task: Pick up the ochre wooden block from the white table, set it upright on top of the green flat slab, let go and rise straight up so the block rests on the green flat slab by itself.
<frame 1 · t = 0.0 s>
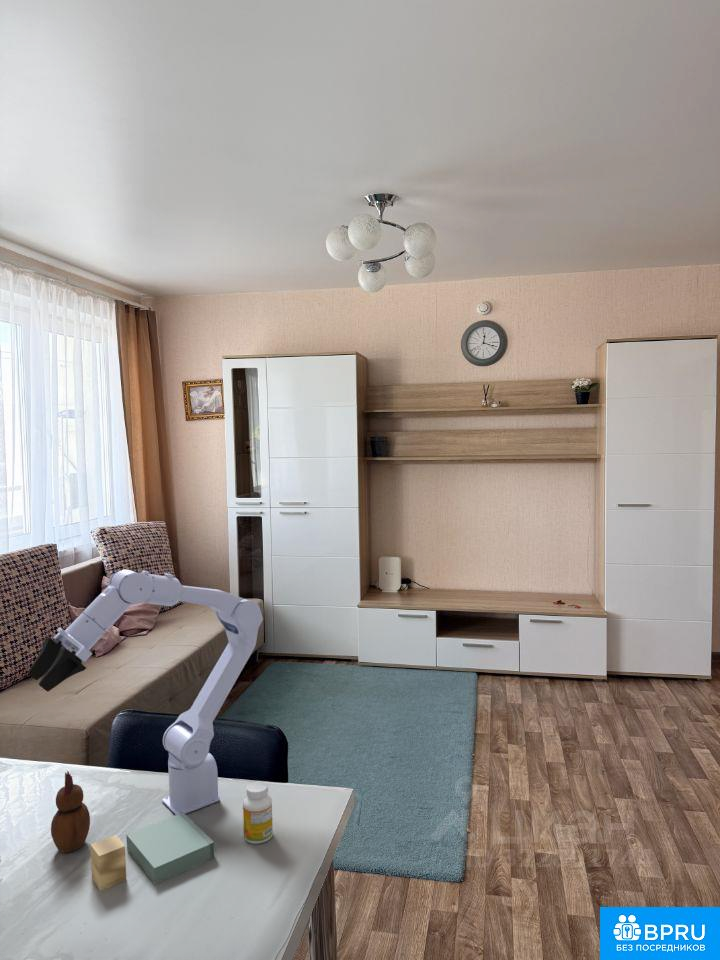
hand: (37, 682, 121), 32 cm above the table, tool tilted 50°, fingers open, 7 cm apart
supplement bottle: (258, 837, 129), on the table
green flat slab: (169, 854, 124), on the table
block: (109, 878, 117), on the table
wooden figurine: (72, 847, 126), on the table
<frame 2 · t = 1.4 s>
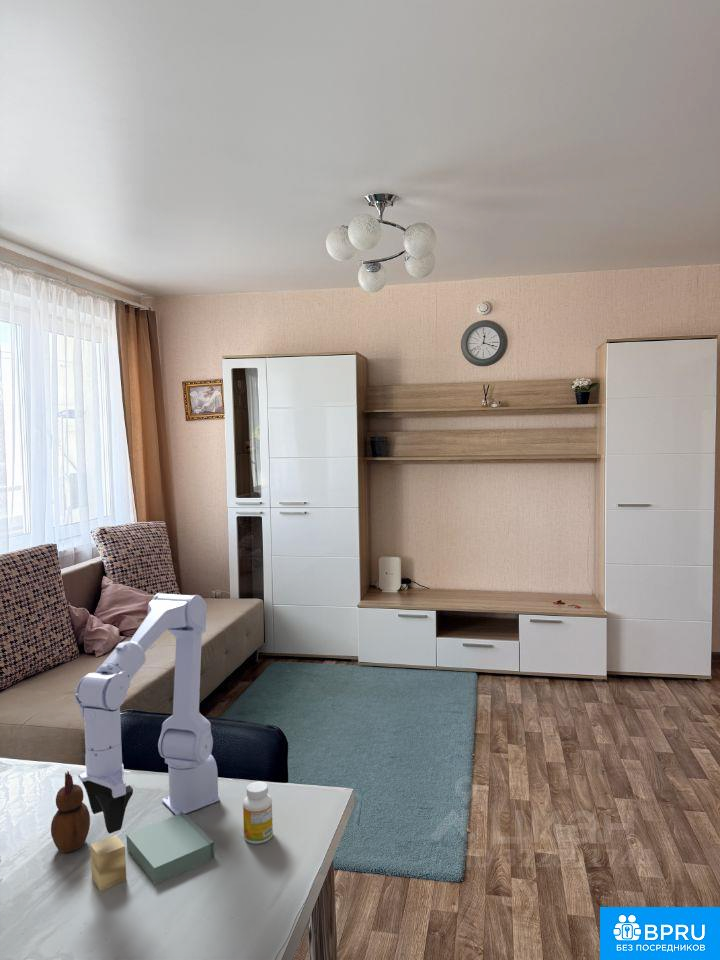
hand: (106, 820, 116), 10 cm above the table, tool pointing down, fingers open, 7 cm apart
nothing on the table moved.
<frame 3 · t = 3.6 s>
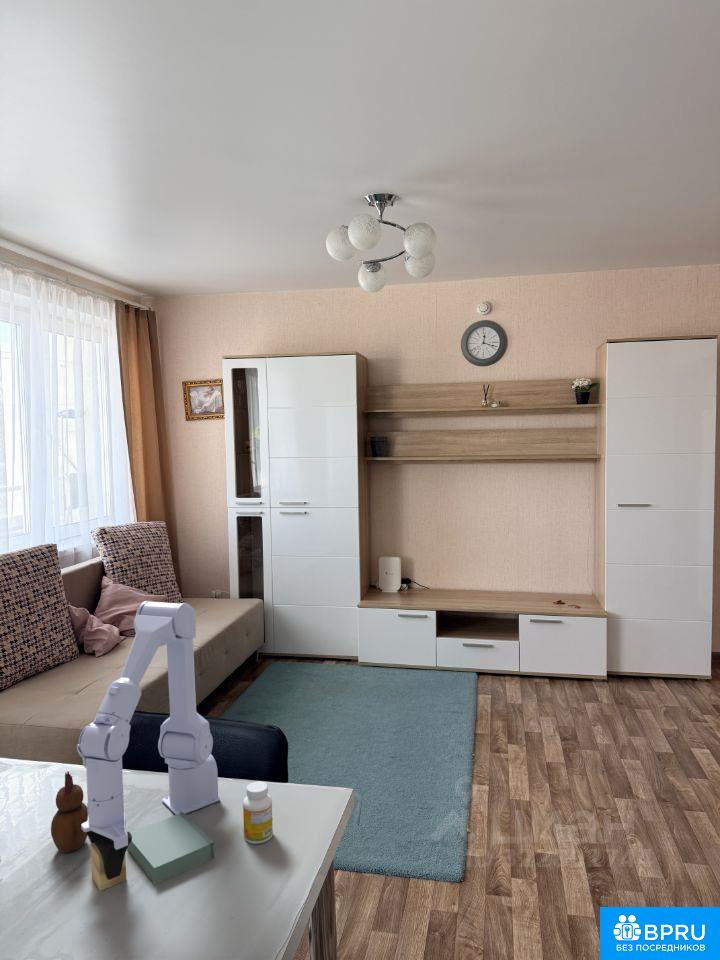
hand: (108, 869, 117), 2 cm above the table, tool pointing down, fingers closed on block, 4 cm apart
block: (109, 878, 117), on the table, touching gripper
everything else where it was.
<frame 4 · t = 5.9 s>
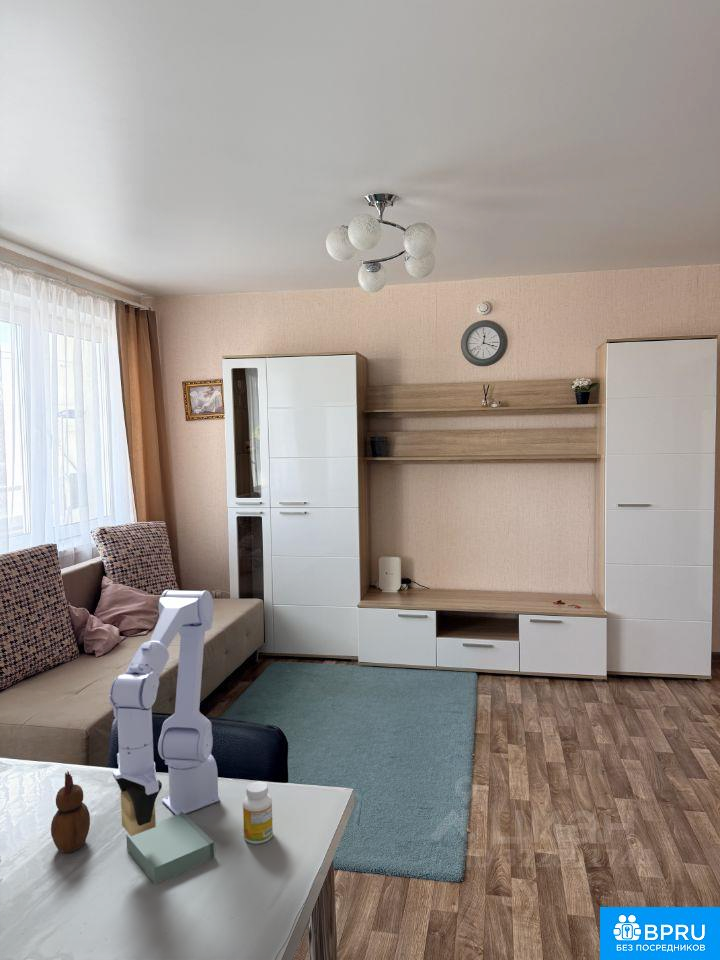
hand: (138, 816, 120), 9 cm above the table, tool pointing down, fingers closed on block, 4 cm apart
block: (138, 826, 120), point 7 cm above the table, touching gripper
everything else where it was.
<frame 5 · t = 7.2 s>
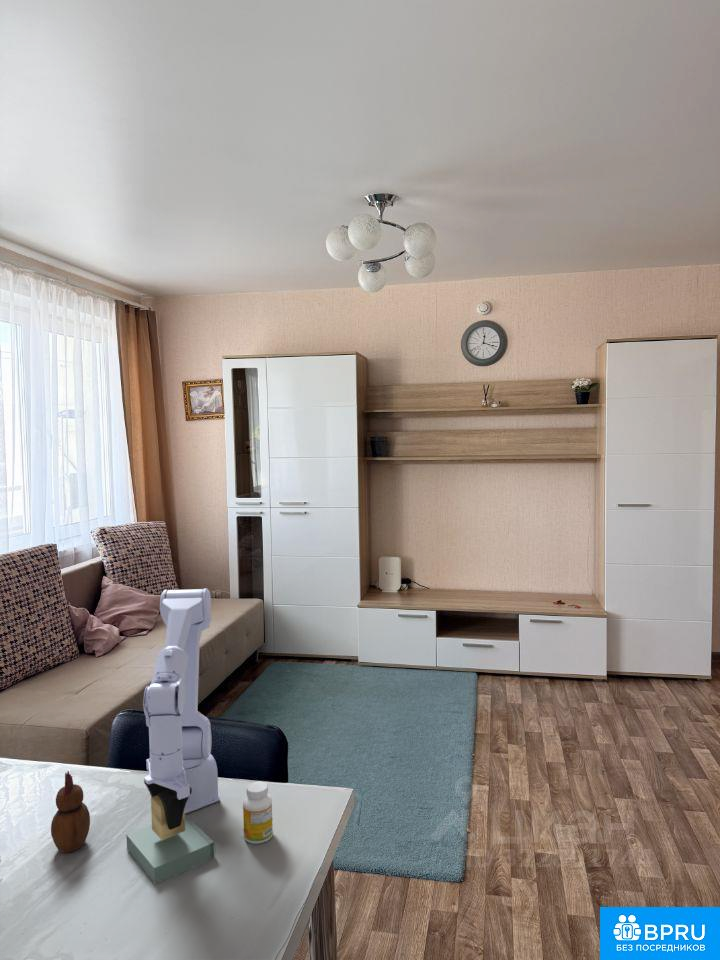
hand: (168, 821, 123), 6 cm above the table, tool pointing down, fingers closed on block, 4 cm apart
block: (168, 830, 123), point 4 cm above the table, touching gripper
everything else where it was.
when the fingers open (6 cm above the table, at t = 8.4 s): block drops 1 cm, resting on green flat slab.
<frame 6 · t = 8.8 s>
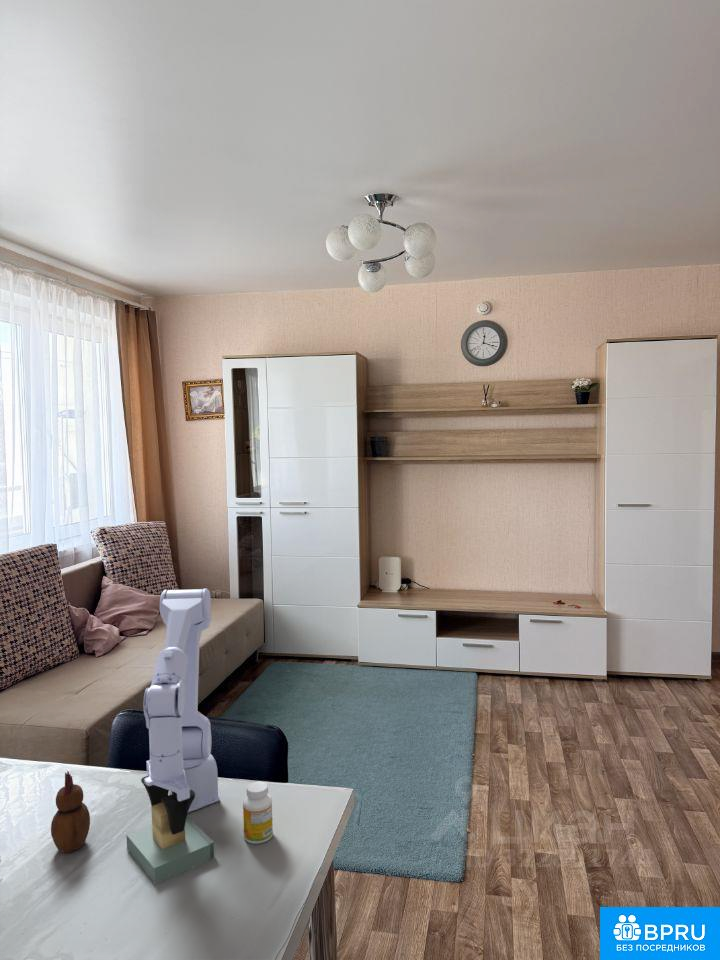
hand: (168, 822, 123), 6 cm above the table, tool pointing down, fingers open, 7 cm apart
green flat slab: (169, 854, 124), on the table, touching block
block: (169, 838, 123), point 3 cm above the table, touching green flat slab
everything else where it was.
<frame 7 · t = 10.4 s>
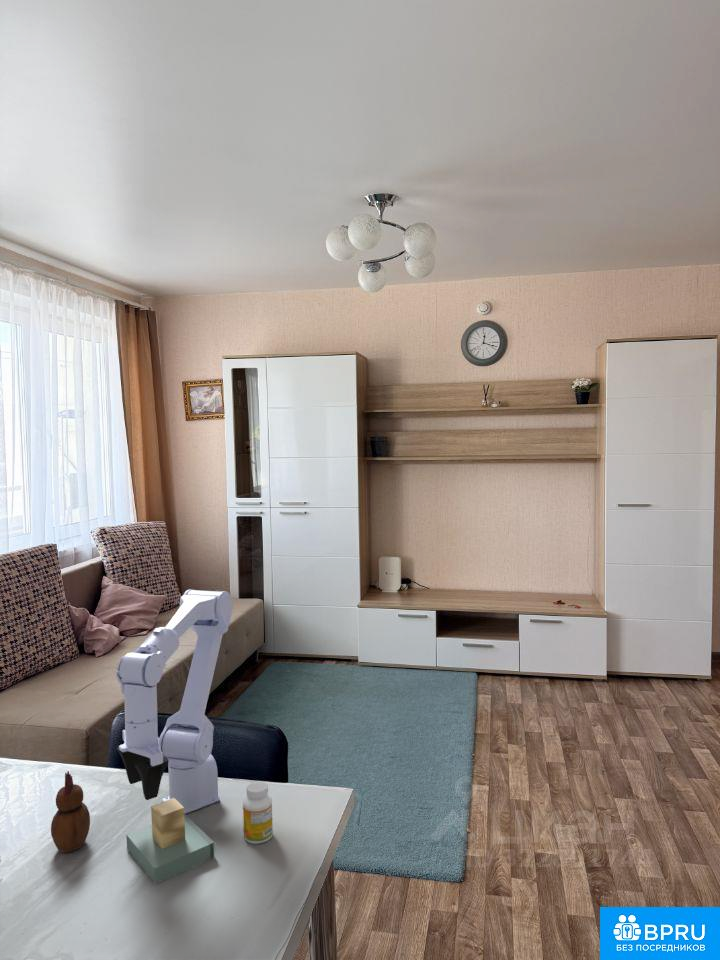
hand: (143, 789, 126), 10 cm above the table, tool pointing down, fingers open, 7 cm apart
green flat slab: (169, 854, 124), on the table
block: (168, 838, 124), point 3 cm above the table
everything else where it was.
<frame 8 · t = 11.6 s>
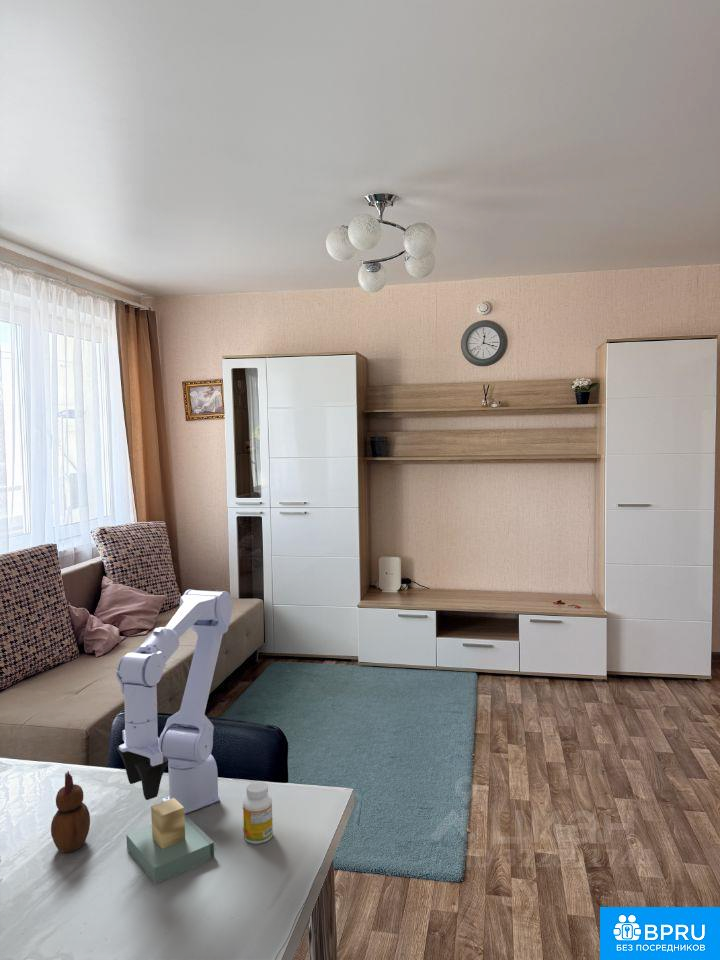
hand: (143, 789, 126), 10 cm above the table, tool pointing down, fingers open, 7 cm apart
nothing on the table moved.
at the end: block inside the target area on the green flat slab (0.1 cm from its centre), point 3.0 cm above the green flat slab's base; block touching nothing; block tilted 0° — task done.
